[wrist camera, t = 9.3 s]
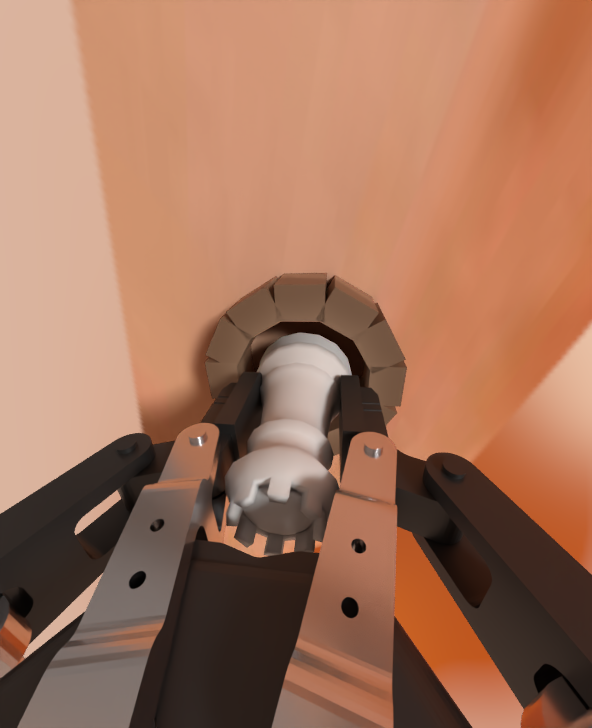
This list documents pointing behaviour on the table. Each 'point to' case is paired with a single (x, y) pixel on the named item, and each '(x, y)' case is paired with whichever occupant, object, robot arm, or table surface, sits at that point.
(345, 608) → the robot arm
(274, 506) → the rook chess piece
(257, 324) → the walnut ring bead
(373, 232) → the table surface
